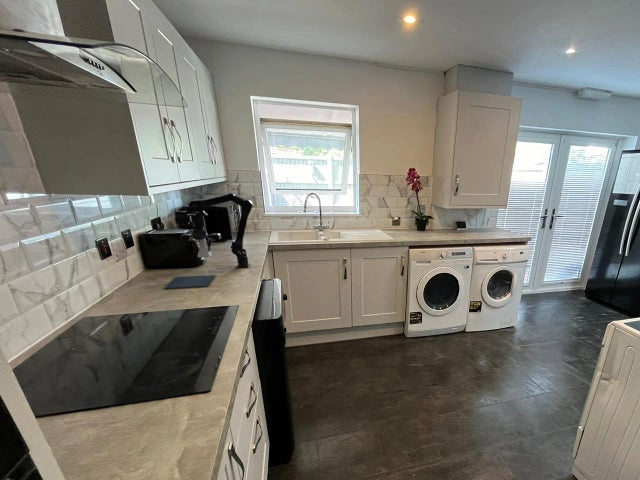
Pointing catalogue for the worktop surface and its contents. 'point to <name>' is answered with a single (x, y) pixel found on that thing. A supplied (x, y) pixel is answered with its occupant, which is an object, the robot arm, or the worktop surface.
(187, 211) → the robot arm
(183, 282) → the mat
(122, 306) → the worktop surface
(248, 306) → the worktop surface
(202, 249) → the flask
